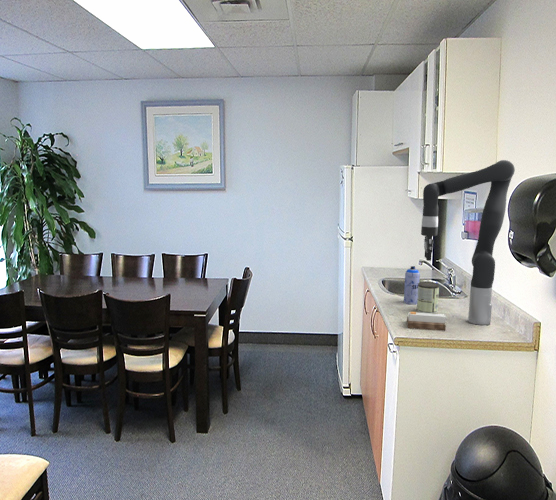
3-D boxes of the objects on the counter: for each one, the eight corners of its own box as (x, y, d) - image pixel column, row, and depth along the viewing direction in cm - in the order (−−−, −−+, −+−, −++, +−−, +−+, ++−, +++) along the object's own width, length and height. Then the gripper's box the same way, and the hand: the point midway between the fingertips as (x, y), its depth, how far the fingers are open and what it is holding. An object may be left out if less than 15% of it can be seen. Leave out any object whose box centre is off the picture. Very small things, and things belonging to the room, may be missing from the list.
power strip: (444, 325, 220) (444, 313, 219) (445, 327, 216) (445, 315, 215) (407, 322, 223) (408, 310, 222) (408, 325, 219) (409, 313, 219)
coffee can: (416, 307, 251) (417, 281, 249) (437, 309, 248) (438, 282, 246) (416, 312, 241) (418, 285, 239) (438, 314, 238) (439, 286, 236)
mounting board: (442, 324, 223) (442, 318, 223) (445, 330, 214) (445, 325, 213) (406, 321, 226) (407, 316, 226) (408, 328, 217) (408, 322, 216)
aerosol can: (409, 305, 255) (411, 268, 252) (400, 301, 262) (402, 265, 259) (421, 303, 258) (423, 267, 255) (411, 300, 266) (413, 264, 262)
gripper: (439, 227, 223) (437, 261, 225) (436, 224, 236) (434, 257, 239) (422, 226, 224) (420, 261, 227) (420, 223, 238) (418, 256, 240)
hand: (427, 259), depth 233 cm, fingers open, 8 cm apart
